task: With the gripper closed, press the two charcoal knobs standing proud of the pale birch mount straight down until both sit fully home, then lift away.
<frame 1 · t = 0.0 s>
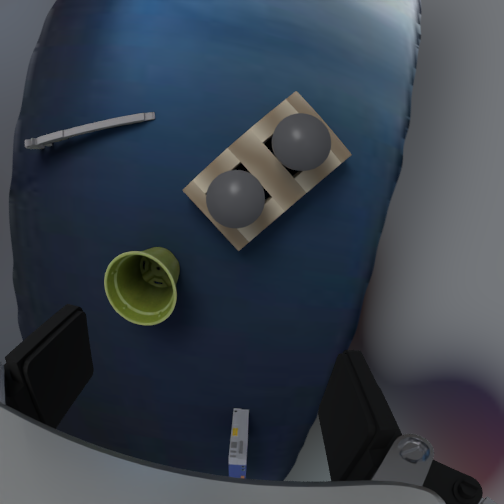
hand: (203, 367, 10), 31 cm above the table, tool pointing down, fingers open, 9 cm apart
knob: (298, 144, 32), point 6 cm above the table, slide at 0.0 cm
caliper: (93, 130, 37), on the table
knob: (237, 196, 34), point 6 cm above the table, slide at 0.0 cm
walkman: (240, 421, 50), on the table
mount: (266, 169, 38), on the table
plant pot: (160, 266, 42), on the table
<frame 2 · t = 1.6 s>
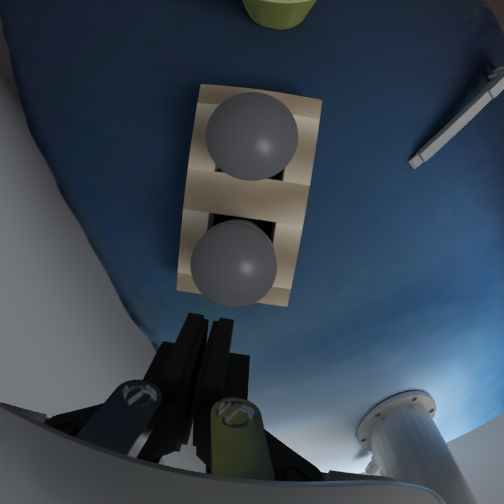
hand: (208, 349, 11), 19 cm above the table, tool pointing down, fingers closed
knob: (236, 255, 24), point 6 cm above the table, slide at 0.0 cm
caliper: (459, 112, 25), on the table
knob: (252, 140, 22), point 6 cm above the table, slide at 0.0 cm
mount: (247, 193, 28), on the table
plant pot: (275, 8, 23), on the table
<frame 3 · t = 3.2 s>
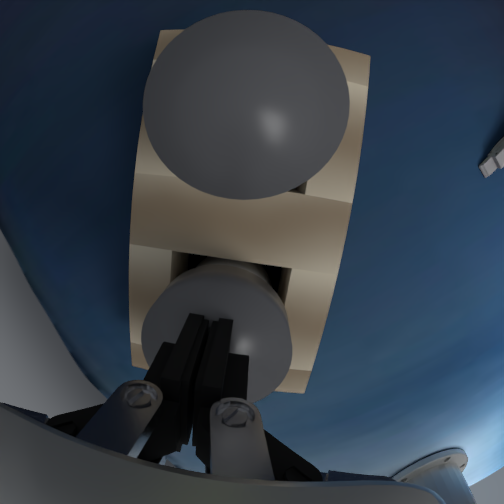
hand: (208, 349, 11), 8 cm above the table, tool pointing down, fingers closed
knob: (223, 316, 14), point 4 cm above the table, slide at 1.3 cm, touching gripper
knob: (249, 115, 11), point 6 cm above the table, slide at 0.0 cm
mount: (241, 211, 17), on the table
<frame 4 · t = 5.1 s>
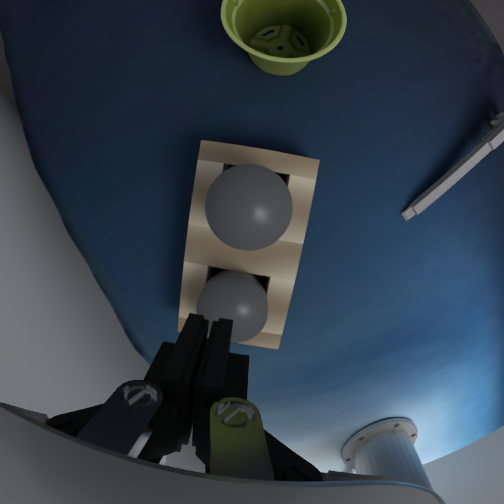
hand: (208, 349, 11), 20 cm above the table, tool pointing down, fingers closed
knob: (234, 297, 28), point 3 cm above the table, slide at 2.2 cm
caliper: (457, 160, 28), on the table
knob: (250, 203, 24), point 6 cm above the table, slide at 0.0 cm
mount: (244, 242, 30), on the table
plant pot: (279, 51, 25), on the table
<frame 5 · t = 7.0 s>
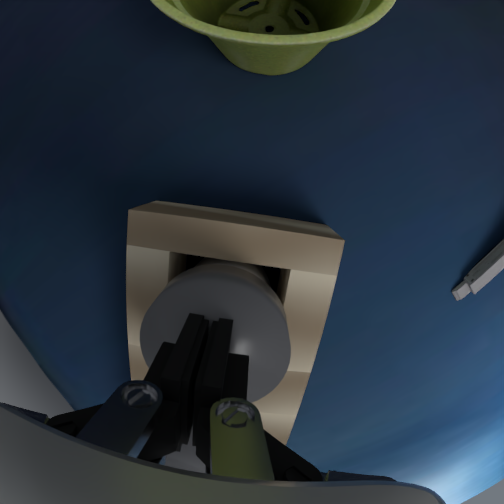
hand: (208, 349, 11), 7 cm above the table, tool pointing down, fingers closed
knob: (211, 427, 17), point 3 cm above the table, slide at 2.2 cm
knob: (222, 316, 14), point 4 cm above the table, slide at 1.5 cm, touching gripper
mount: (222, 347, 20), on the table
plant pot: (267, 34, 15), on the table
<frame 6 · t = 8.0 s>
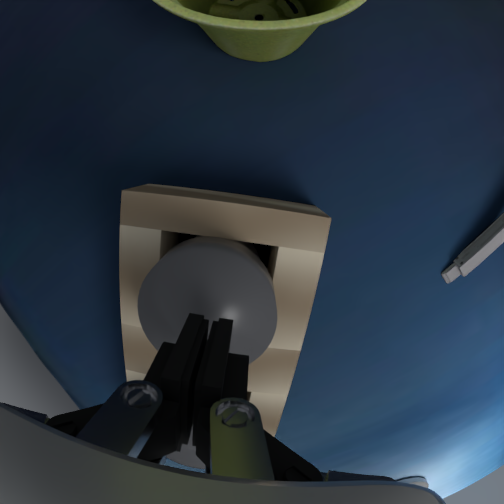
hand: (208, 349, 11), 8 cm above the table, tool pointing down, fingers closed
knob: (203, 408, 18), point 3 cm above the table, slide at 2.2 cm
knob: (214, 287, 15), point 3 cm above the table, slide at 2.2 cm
mount: (214, 328, 20), on the table
plant pot: (257, 23, 15), on the table
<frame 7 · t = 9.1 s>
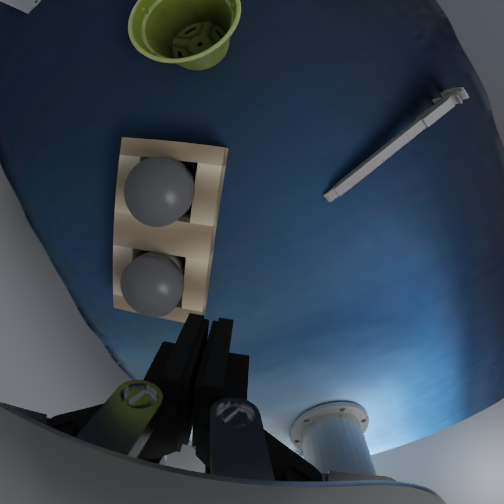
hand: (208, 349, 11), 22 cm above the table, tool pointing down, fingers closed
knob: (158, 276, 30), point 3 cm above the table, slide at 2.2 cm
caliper: (390, 140, 29), on the table
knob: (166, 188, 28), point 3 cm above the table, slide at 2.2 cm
mount: (170, 226, 32), on the table
plant pot: (200, 47, 26), on the table
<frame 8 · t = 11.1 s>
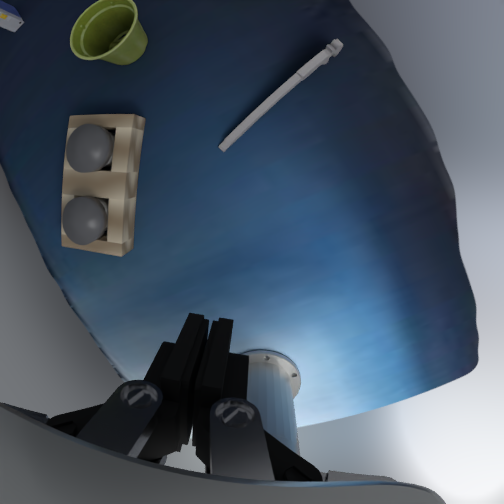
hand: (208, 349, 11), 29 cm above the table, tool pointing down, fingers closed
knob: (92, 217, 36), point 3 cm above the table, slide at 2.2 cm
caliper: (279, 97, 35), on the table
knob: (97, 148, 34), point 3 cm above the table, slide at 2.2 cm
walkman: (15, 19, 29), on the table
mount: (105, 181, 38), on the table
plant pot: (128, 47, 33), on the table
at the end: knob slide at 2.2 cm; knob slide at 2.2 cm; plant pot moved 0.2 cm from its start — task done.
